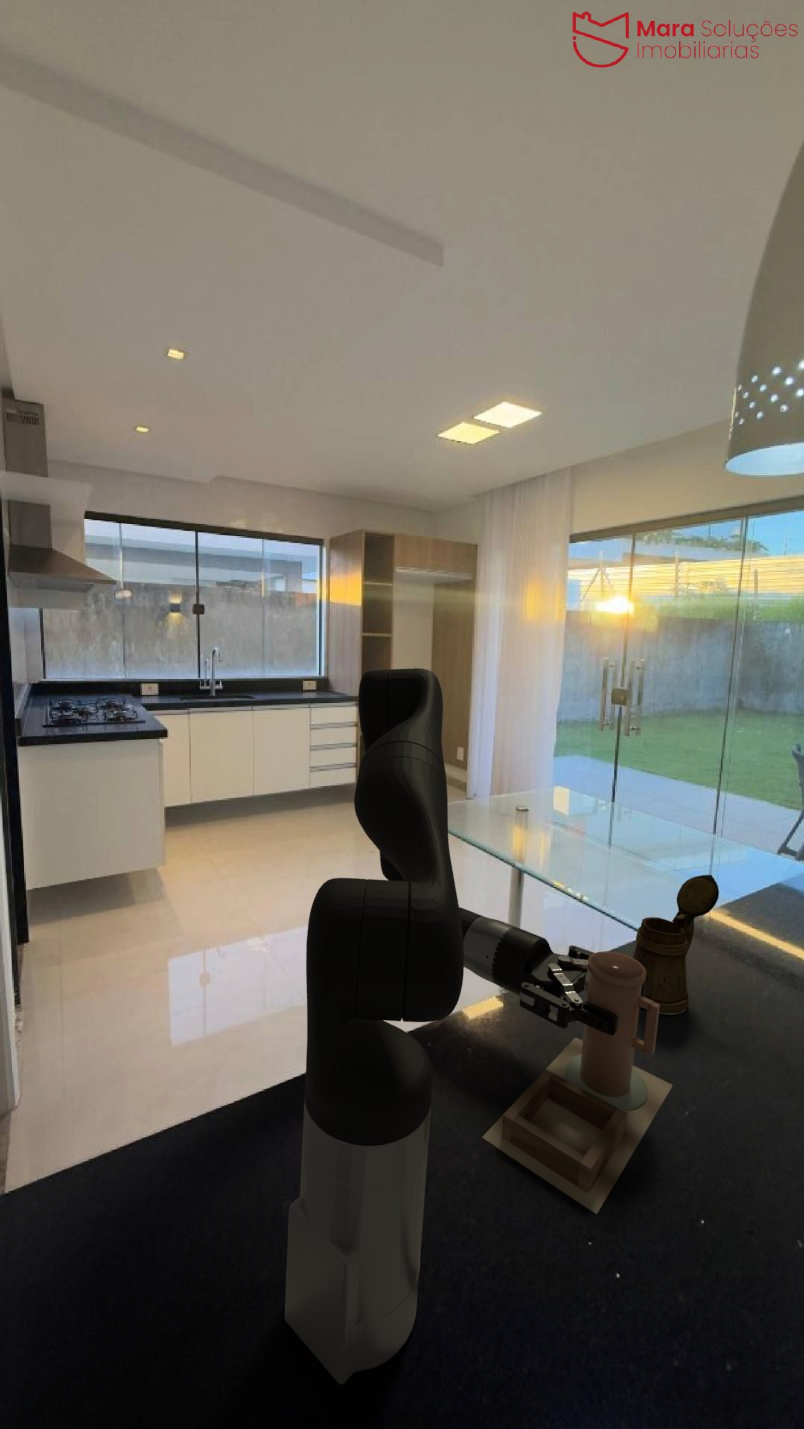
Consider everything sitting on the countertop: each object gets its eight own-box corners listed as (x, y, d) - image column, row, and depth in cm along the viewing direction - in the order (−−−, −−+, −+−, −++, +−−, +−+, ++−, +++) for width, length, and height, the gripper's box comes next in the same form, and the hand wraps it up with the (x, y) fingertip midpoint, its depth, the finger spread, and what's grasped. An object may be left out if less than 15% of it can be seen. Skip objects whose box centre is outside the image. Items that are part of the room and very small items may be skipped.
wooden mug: (724, 1002, 90) (739, 886, 88) (656, 1021, 84) (671, 897, 82) (674, 971, 98) (687, 864, 96) (610, 987, 92) (622, 873, 90)
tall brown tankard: (637, 1116, 65) (651, 994, 64) (567, 1079, 70) (579, 964, 69) (656, 1086, 70) (670, 972, 68) (590, 1053, 75) (601, 945, 73)
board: (595, 1223, 54) (599, 1188, 54) (481, 1146, 62) (483, 1114, 61) (672, 1092, 71) (675, 1065, 70) (574, 1044, 78) (577, 1019, 78)
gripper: (476, 946, 73) (610, 1004, 62) (534, 910, 84) (655, 955, 73) (472, 1005, 74) (602, 1071, 63) (529, 962, 84) (649, 1013, 74)
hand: (631, 1009), depth 68 cm, fingers open, 8 cm apart
